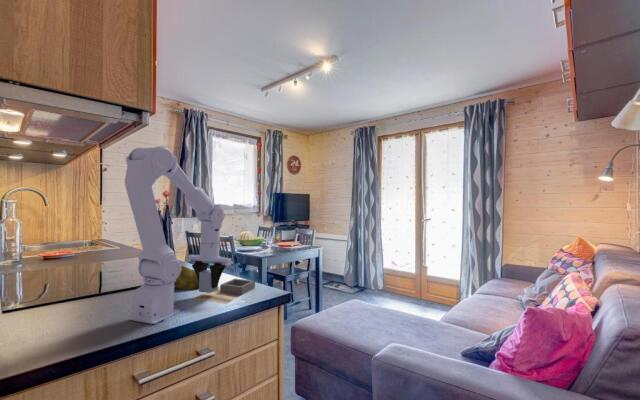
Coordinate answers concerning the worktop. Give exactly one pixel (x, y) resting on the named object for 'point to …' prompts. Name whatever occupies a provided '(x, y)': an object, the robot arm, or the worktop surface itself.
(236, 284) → the frame
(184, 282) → the potato
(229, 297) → the board
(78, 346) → the worktop surface
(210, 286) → the plug
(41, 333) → the worktop surface
